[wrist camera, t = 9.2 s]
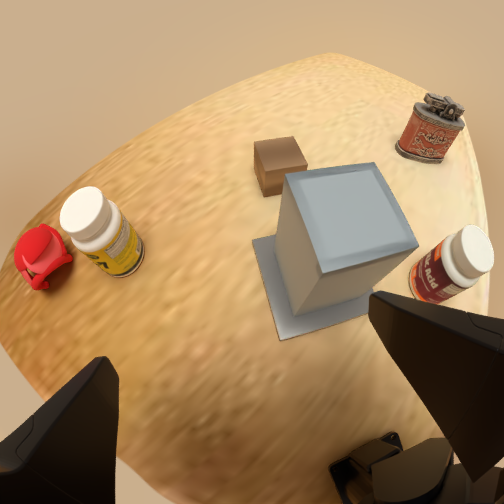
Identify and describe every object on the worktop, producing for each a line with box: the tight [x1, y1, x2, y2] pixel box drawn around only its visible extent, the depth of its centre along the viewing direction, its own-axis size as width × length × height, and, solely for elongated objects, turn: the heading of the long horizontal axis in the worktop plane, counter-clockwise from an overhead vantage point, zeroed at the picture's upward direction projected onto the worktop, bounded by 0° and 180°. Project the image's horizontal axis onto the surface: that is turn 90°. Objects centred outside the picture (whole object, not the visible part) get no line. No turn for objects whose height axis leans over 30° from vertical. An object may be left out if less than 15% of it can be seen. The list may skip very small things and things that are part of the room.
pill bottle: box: [409, 225, 494, 304], centre depth 19 cm, size 5×5×8 cm
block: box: [254, 136, 308, 197], centre depth 26 cm, size 4×4×4 cm
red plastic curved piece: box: [14, 224, 73, 290], centre depth 22 cm, size 8×6×6 cm
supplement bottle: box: [60, 186, 144, 277], centre depth 21 cm, size 5×5×8 cm
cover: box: [274, 162, 419, 317], centre depth 18 cm, size 6×6×10 cm
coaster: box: [252, 235, 374, 341], centre depth 23 cm, size 9×9×1 cm
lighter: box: [395, 93, 465, 164], centre depth 26 cm, size 8×3×10 cm, turn 90°
